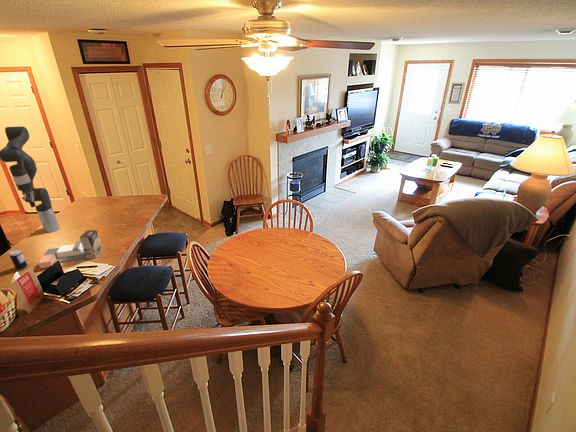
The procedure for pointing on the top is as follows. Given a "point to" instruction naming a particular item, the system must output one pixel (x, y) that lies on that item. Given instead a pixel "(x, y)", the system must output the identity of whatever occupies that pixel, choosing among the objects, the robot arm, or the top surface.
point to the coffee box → (91, 244)
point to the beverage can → (18, 259)
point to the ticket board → (64, 259)
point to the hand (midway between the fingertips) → (33, 206)
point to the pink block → (47, 261)
